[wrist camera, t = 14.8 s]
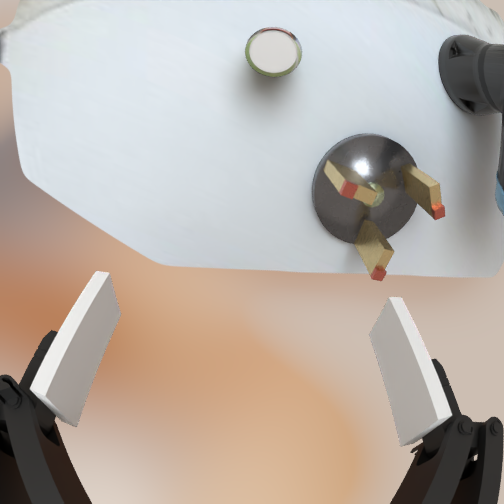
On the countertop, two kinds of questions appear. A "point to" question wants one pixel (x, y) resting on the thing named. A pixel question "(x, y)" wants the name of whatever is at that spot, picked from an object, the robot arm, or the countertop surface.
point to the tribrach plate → (377, 175)
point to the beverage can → (273, 51)
